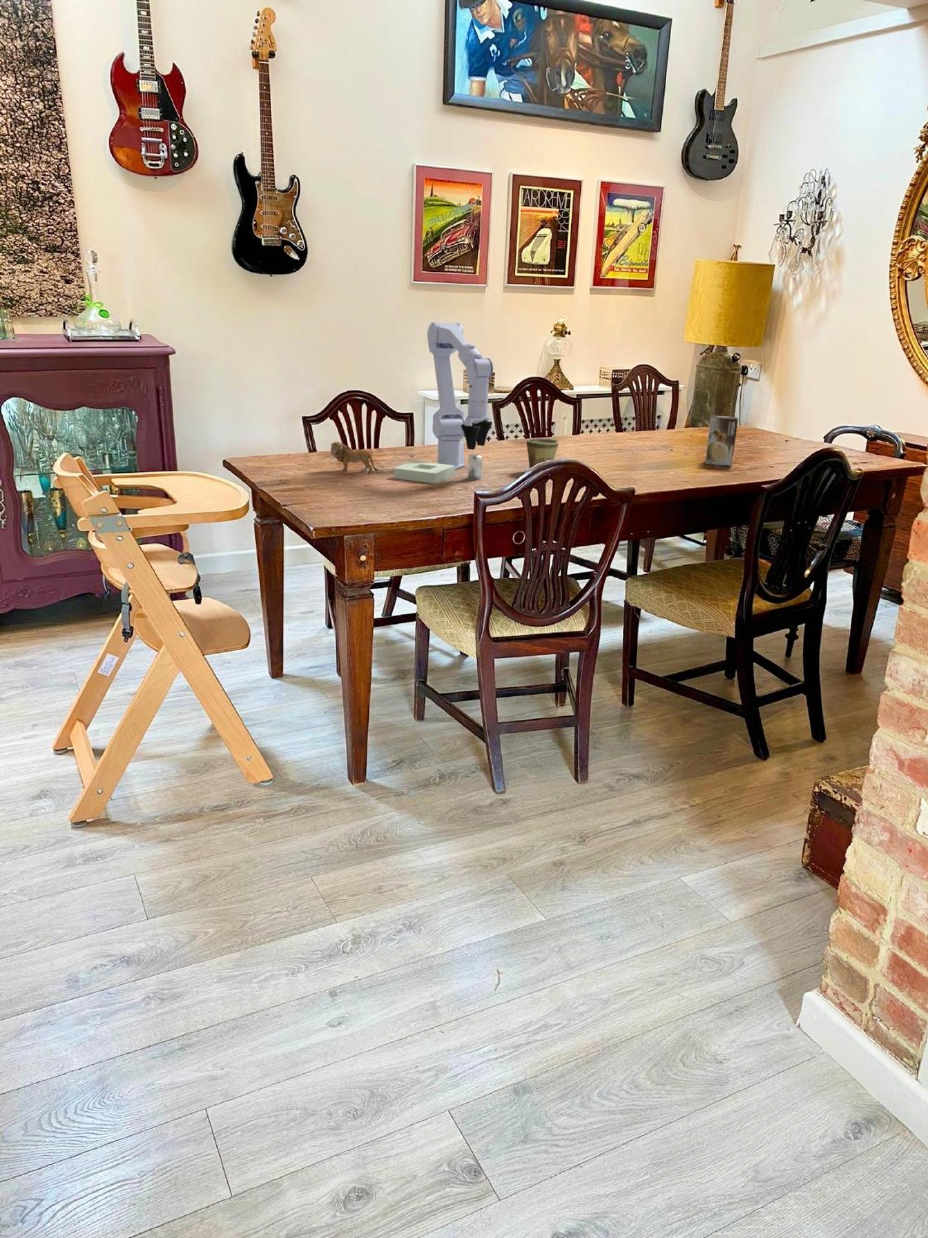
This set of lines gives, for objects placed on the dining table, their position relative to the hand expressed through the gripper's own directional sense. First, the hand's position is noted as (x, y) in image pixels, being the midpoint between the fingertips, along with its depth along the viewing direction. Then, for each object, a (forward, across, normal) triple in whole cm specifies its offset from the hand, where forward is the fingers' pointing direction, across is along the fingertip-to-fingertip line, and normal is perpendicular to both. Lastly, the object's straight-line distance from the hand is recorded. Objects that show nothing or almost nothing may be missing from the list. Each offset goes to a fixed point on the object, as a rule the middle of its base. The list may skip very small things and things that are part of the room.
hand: (475, 447), depth 262 cm
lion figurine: (+10, -12, +36) cm, 39 cm away
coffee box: (+10, +71, -63) cm, 95 cm away
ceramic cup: (+10, +22, -14) cm, 28 cm away
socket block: (+10, -6, +14) cm, 18 cm away
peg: (+10, 0, 0) cm, 10 cm away
